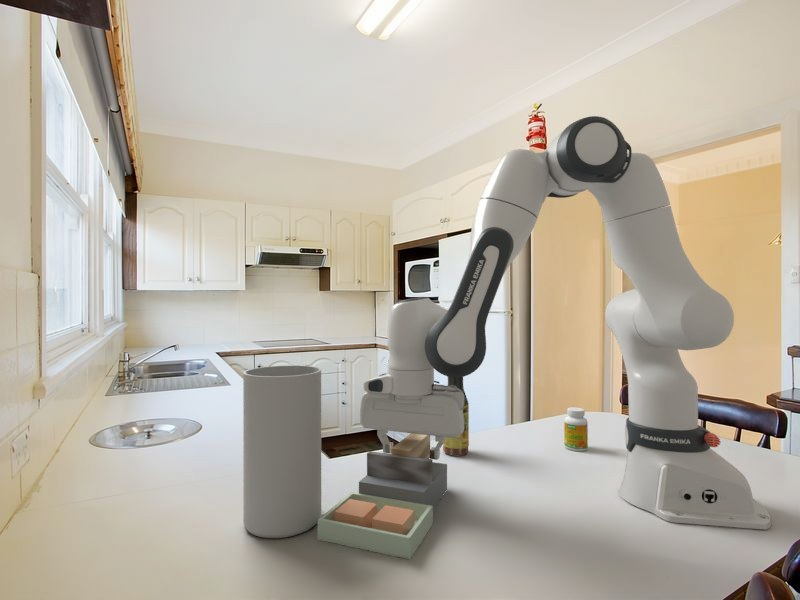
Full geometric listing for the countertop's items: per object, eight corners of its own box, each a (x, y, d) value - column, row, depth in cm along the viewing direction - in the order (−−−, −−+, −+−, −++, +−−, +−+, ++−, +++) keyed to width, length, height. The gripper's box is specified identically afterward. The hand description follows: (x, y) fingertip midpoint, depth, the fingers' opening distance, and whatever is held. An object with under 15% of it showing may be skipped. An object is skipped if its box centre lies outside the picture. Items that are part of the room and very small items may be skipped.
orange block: (363, 517, 70) (363, 536, 70) (377, 503, 74) (377, 522, 74) (334, 511, 72) (334, 530, 72) (350, 498, 76) (350, 516, 76)
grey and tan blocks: (450, 460, 90) (450, 434, 90) (430, 485, 78) (430, 455, 78) (394, 452, 95) (394, 428, 95) (367, 475, 83) (366, 447, 83)
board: (447, 489, 88) (447, 464, 88) (424, 522, 75) (424, 492, 75) (389, 481, 93) (389, 456, 93) (358, 510, 80) (358, 481, 80)
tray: (432, 524, 75) (432, 505, 75) (409, 559, 64) (409, 538, 64) (351, 509, 80) (351, 491, 80) (317, 539, 70) (317, 519, 70)
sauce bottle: (468, 457, 106) (467, 372, 106) (441, 456, 108) (441, 371, 108) (469, 449, 113) (469, 368, 113) (444, 447, 114) (444, 368, 114)
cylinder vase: (240, 512, 79) (240, 367, 79) (312, 499, 84) (312, 363, 84) (247, 547, 68) (246, 379, 68) (329, 530, 73) (329, 373, 73)
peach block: (402, 524, 67) (402, 545, 67) (414, 510, 72) (414, 529, 72) (372, 518, 69) (372, 538, 69) (385, 505, 74) (385, 523, 74)
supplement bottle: (563, 450, 112) (563, 410, 112) (564, 443, 117) (564, 405, 117) (587, 452, 110) (587, 412, 110) (587, 446, 115) (587, 407, 115)
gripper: (468, 383, 86) (468, 456, 86) (369, 377, 93) (370, 444, 93) (460, 389, 80) (460, 468, 80) (355, 382, 88) (356, 454, 88)
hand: (410, 455), depth 87 cm, fingers open, 8 cm apart
